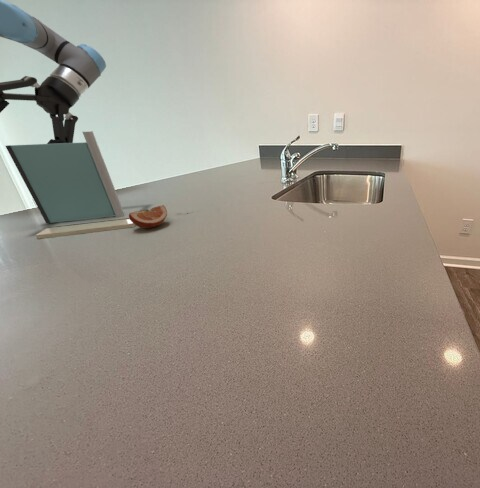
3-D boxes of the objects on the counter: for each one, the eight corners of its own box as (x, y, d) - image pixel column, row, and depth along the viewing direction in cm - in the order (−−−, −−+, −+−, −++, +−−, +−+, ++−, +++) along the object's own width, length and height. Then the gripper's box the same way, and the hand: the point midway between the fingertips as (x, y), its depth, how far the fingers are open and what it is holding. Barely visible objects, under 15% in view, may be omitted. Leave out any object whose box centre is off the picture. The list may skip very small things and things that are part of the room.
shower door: (46, 223, 67) (5, 145, 59) (65, 212, 75) (31, 142, 67) (114, 215, 71) (84, 142, 63) (125, 206, 79) (100, 140, 71)
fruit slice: (163, 219, 72) (157, 202, 70) (176, 224, 69) (171, 206, 66) (130, 229, 66) (122, 211, 64) (142, 235, 62) (135, 215, 60)
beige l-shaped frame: (37, 239, 62) (-21, 135, 52) (71, 217, 75) (30, 132, 65) (133, 227, 67) (98, 131, 57) (149, 209, 81) (122, 129, 71)
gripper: (30, 44, 66) (-33, 101, 58) (108, 123, 89) (70, 171, 81) (6, 39, 67) (-59, 95, 59) (89, 119, 90) (50, 167, 82)
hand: (15, 140), depth 70 cm, fingers open, 13 cm apart
